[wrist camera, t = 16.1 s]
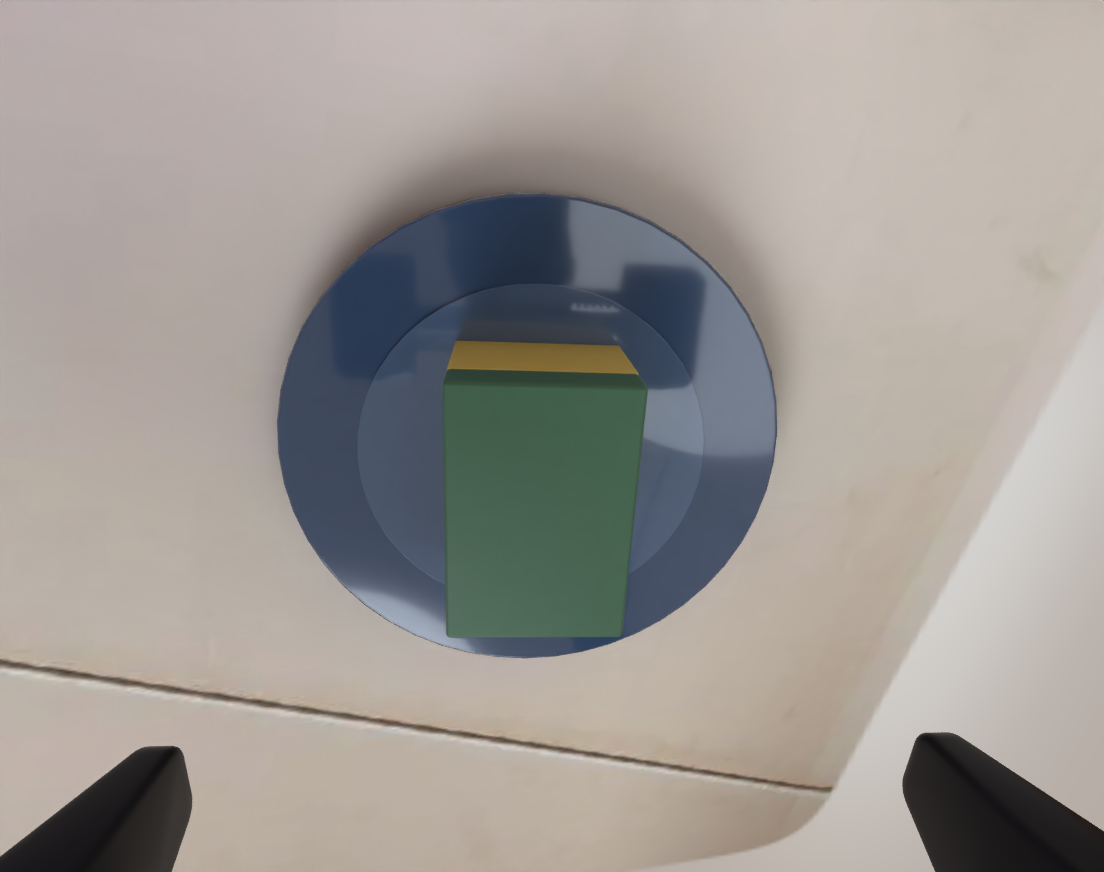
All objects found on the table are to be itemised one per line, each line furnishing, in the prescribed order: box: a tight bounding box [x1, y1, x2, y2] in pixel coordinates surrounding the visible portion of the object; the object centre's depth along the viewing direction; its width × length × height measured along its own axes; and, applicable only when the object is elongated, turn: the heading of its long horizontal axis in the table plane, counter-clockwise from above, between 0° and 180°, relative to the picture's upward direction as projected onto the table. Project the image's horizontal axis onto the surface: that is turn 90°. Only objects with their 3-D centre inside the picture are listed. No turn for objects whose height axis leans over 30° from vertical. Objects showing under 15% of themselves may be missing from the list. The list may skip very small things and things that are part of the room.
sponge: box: [443, 341, 648, 638], centre depth 15 cm, size 6×4×4 cm, turn 177°
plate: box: [277, 192, 777, 658], centre depth 17 cm, size 13×13×1 cm
